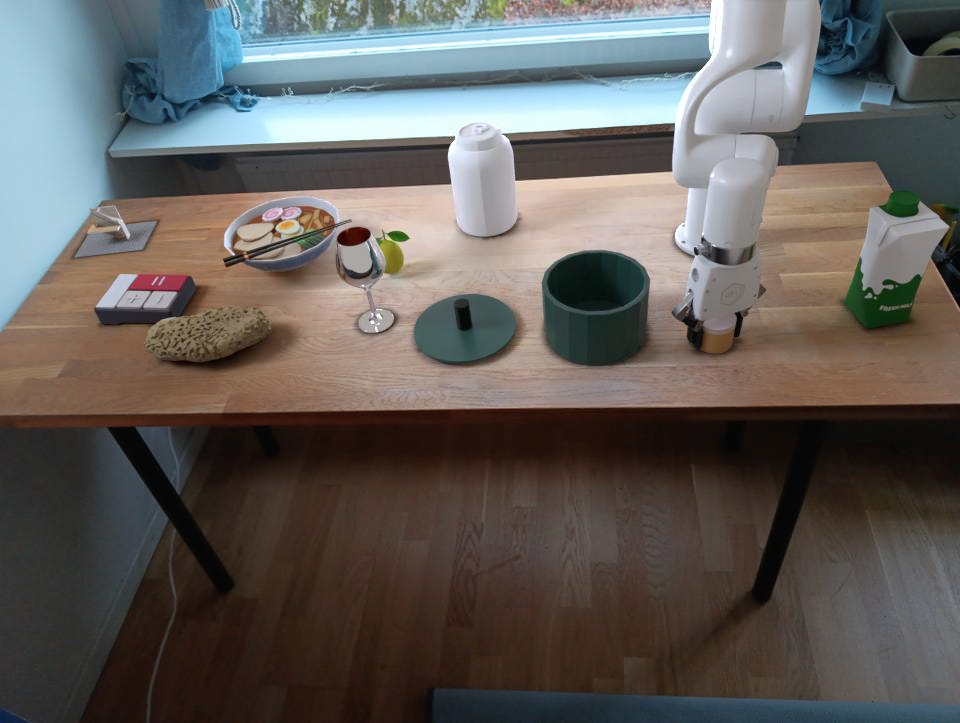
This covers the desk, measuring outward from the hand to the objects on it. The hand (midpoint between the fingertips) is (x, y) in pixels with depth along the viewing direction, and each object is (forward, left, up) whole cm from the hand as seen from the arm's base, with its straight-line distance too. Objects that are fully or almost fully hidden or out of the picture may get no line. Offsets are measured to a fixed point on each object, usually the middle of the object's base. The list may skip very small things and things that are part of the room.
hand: (713, 337), depth 116 cm
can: (+22, -50, -1) cm, 54 cm away
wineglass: (+50, -28, -1) cm, 57 cm away
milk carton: (-27, +4, -1) cm, 27 cm away
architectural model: (+98, -80, -1) cm, 126 cm away
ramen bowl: (+62, -55, -1) cm, 83 cm away
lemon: (+44, -41, -1) cm, 60 cm away
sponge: (+78, -33, -1) cm, 85 cm away
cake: (0, 0, -1) cm, 1 cm away
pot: (+16, -10, -1) cm, 19 cm away
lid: (+36, -19, 0) cm, 41 cm away
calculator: (+90, -51, -1) cm, 103 cm away
